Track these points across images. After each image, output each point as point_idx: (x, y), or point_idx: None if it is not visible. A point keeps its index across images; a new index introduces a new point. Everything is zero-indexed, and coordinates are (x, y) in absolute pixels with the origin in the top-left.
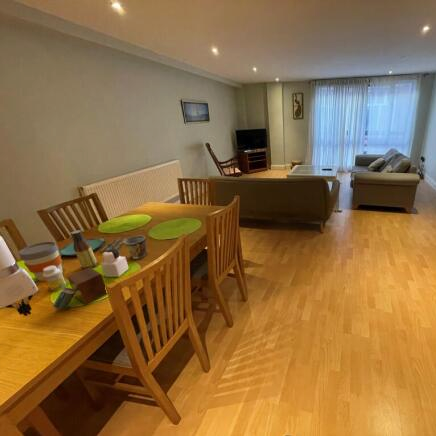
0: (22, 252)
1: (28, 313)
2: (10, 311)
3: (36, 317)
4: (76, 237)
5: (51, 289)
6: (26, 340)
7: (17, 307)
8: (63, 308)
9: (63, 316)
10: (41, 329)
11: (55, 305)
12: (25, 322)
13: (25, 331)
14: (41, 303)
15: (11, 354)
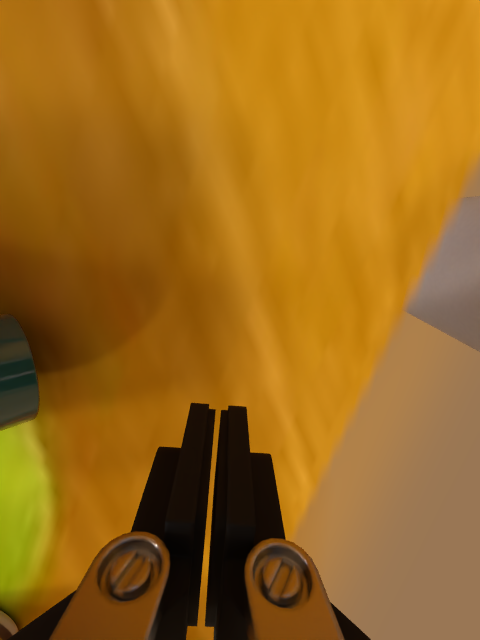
0: None
1: (210, 411)
2: None
3: (177, 428)
4: None
5: (7, 635)
6: (330, 205)
7: (281, 566)
8: (3, 315)
9: (56, 245)
10: (217, 239)
11: (9, 374)
12: None
13: (281, 333)
14: None
15: (458, 129)
